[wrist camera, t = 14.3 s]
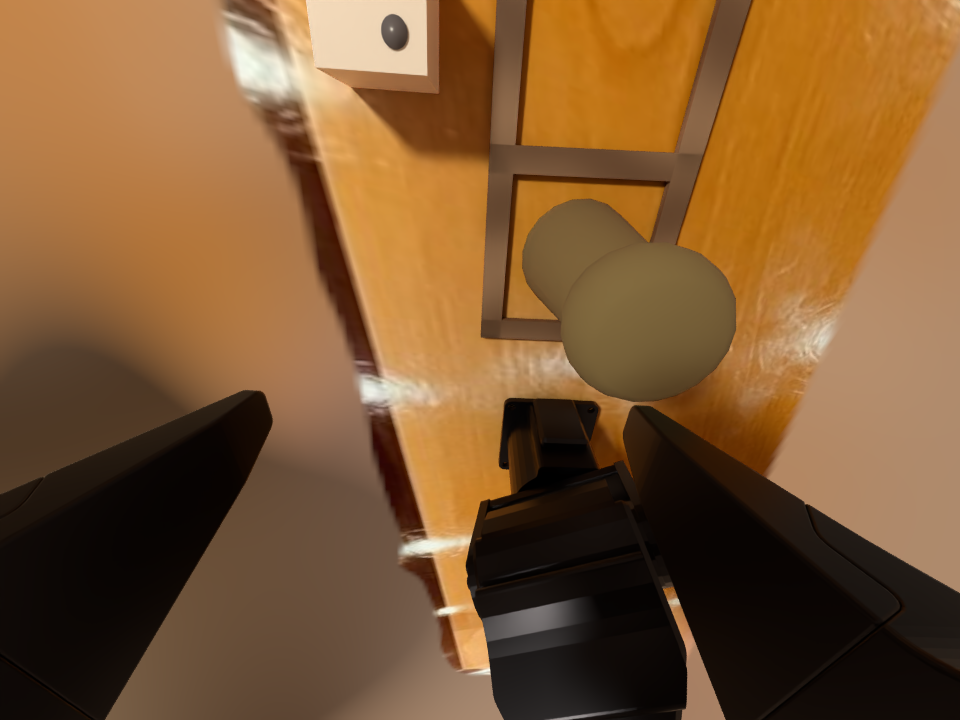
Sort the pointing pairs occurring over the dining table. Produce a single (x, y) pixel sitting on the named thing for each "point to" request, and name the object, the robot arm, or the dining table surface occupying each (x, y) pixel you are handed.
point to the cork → (628, 302)
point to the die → (377, 43)
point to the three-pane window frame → (590, 153)
